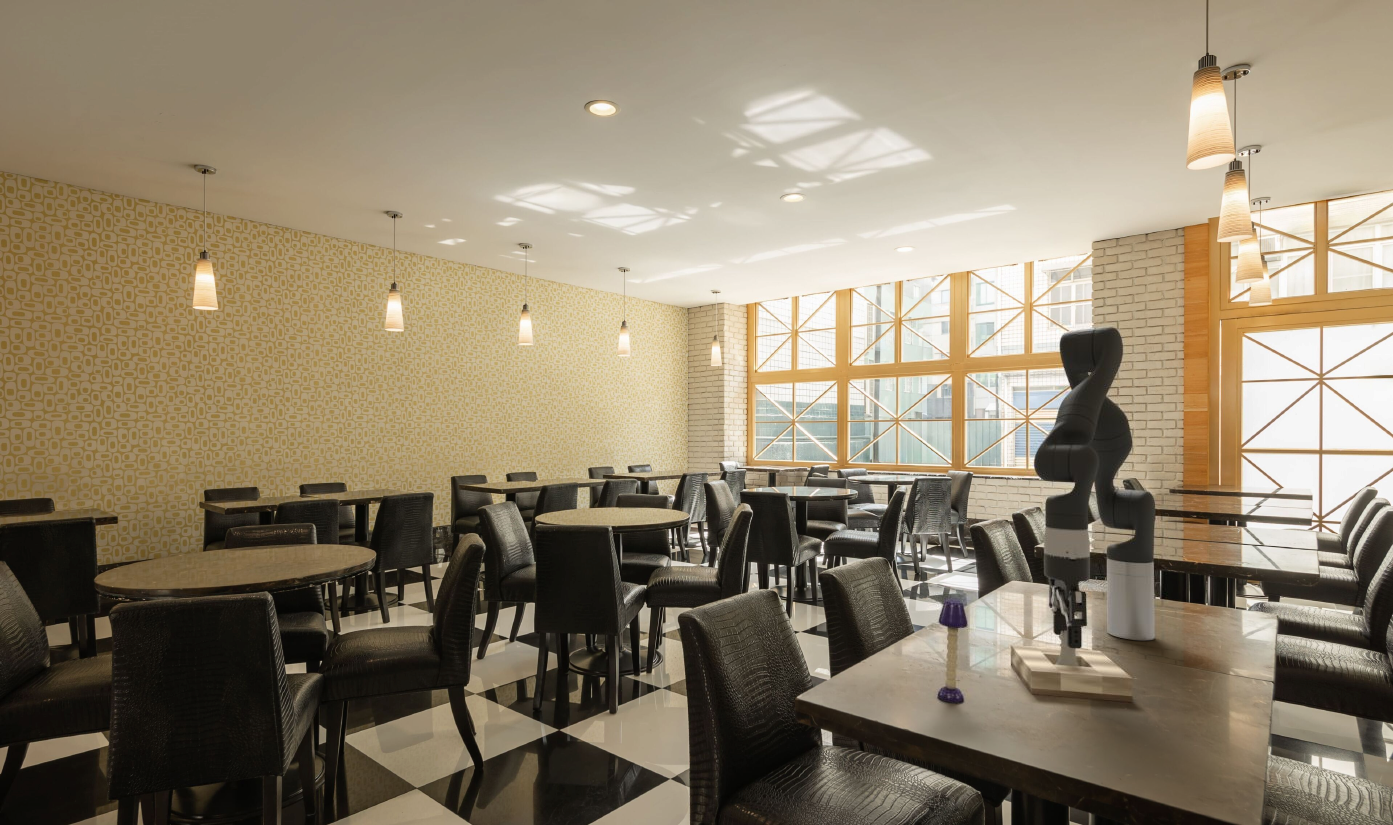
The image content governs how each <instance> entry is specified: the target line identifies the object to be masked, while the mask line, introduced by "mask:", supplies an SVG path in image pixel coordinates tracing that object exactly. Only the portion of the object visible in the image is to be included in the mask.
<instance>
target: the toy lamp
mask: <svg viewBox="0 0 1393 825" xmlns="http://www.w3.org/2000/svg"><path fill="white" fill-rule="evenodd" d="M966 615H967V614H966V610H965V606H964V603H963V602H962V601H960V600H958V599H951V598H948V599H945V600H944V602H943V605H942V608H941V610H940V613H939V617H938V623H939V624H940V625H942V626H944V627H947V633H948V634H947V635H946V636H947V637H946V638H947V645H946V649H947V652H946V659H947V660H946V663H945V668H946V670H945V677H946V678H945V686H942V687H941V688H940V689H939V691H938V692H937V698H938V699H939V700H942V701H943V702H947V703H952V704H953V703H954V704H957V703H958V704H959V703H962V702H964V701H965V698H964V695H963V694H964V693H963V692H962V691H961V690H960V689H959V688H957V687H956V686H957V681H956V679H957V668H958V663H957V661H958V653H957V652H958V644H957V643H958V641H959V637H958V633H959V629H965V628H967V626H968V619H967V616H966Z"/></svg>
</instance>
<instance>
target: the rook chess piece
mask: <svg viewBox="0 0 1393 825" xmlns="http://www.w3.org/2000/svg"><path fill="white" fill-rule="evenodd" d="M1058 638H1059V640H1060V642H1061V643H1060V644H1059V646H1060V648H1061V652H1060V657H1059V660H1058V662H1057V663H1056V664H1055V665H1066V666H1078V663H1077V660H1076V649H1077V648H1070V647H1068V645H1067V631H1064V633H1063V631H1061V634H1060V635H1058Z"/></svg>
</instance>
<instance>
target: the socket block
mask: <svg viewBox="0 0 1393 825" xmlns="http://www.w3.org/2000/svg"><path fill="white" fill-rule="evenodd" d="M1060 652H1061V647H1047V646H1036V645H1035V646H1034V645H1033V646H1031V645H1021V644H1020V645H1018V644H1017V645H1016V644H1010V666H1011V667H1012V669H1013V670H1014V673H1016V675H1017V676H1018V677H1019V679H1020V680H1021V682H1023V685H1024V686H1025V687H1026V688H1027V689H1028V692H1029V693H1030V694H1031V695H1039V696H1054V697H1066V698H1075V699H1076V698H1077V699H1078V698H1079V699H1090V700H1103V701H1113V702H1114V701H1115V702H1116V701H1117V702H1124V703H1126V702H1127V703H1129V702H1130V703H1133V702H1134V700H1133V698H1134V697H1133V692H1134V691H1133V687H1134V686H1133V685H1134V684H1133V677H1132V676H1131V675H1129V674H1128V673H1127V672H1125V671H1124V670H1123V669H1122V668H1121V667H1120V666H1119V665H1117V664H1116V662H1114V661H1112V660H1111V659H1110V658H1109V657H1107V656H1106V655H1105V654H1104V653H1103V652H1102V651H1100V650H1089V649H1077V648H1076V660H1077V663H1078V666H1066V665H1055V664H1056V663H1057V662H1058V660H1059V657H1060Z"/></svg>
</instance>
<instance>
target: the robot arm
mask: <svg viewBox="0 0 1393 825" xmlns="http://www.w3.org/2000/svg"><path fill="white" fill-rule="evenodd" d="M1123 344H1124V343H1123V339H1122V335H1121V333H1120V331H1119V330H1118V329H1117V328H1116V327H1114V326H1099V327H1090V328H1081V329H1075V330H1070V331H1066V332H1064V333H1062V335H1061V337H1060V339H1059V354H1060V360H1061V363H1062V367H1063V369H1064V372H1065V375H1066V378H1067V381H1068V384H1069V387H1070V390H1071V391H1069V392H1068V394H1067V395H1066V396H1065V397H1064V398H1063V399H1062V401H1061V403H1060V405H1059V407H1058V410H1057V411H1058V412H1057V414H1056V418H1055V422H1054V424H1053V427H1052V428H1051V430H1050V432H1049V433H1048V434H1047V436H1046V438H1044V440H1043V441H1042V442H1041V443H1040V445H1039V447H1038V448H1037V450H1036V452H1035V455H1034V460H1033V467H1034V471H1035V473H1036V475H1037V476H1038V478H1040V479H1041V480H1043V481H1045V482H1055V483H1072V484H1073V483H1074V485H1073V488H1072V489H1071V491H1070V492H1067V493H1062V494H1061V493H1060V494H1055V495H1050V496H1048V497H1047V498H1046V499H1045V504H1044V505H1045V506H1044V507H1045V510H1044V511H1045V514H1044V516H1045V520H1044V522H1045V523H1044V524H1045V528H1044V536H1043V574H1044V576H1045V577H1046V578H1048V581H1049V582H1048V583H1049V584H1048V585H1049V586H1048V593H1049V594H1048V607H1049V609H1051V614H1053V615H1052V616H1053V618H1052V619H1053V626H1052V627H1053V629H1052V630H1053V633H1054V634H1055V635H1057V636H1059V635H1060V634H1061V631H1063V633H1064V631H1067V645H1068V647H1070V648H1076V649H1079V650H1081V649H1082V646H1083V645H1082V644H1083V642H1082V641H1083V639H1082V638H1083V637H1082V636H1083V633H1082V632H1083V630H1082V628H1084V627H1087V626H1088V617H1087V593H1086V591H1082V590H1080V585H1079V584H1080V583H1081V582H1087V581H1089V580H1090V579H1091V567H1090V566H1091V564H1090V563H1091V557H1090V556H1091V547H1090V546H1091V543H1090V535H1089V502H1090V498H1091V495H1092V490H1093V487H1094V489H1095V498H1096V506H1097V510H1098V516H1099V519H1100V521H1101V523H1102V524H1103V525H1104V526H1105V527H1107V528H1109V529H1115V530H1125V531H1126V530H1128V531H1134V536H1133V537H1132V538H1130V539H1129V540H1125V541H1123V542H1117V543H1114V544H1110V545H1107V547H1106V613H1107V614H1106V620H1107V621H1106V626H1107V627H1106V628H1107V630H1106V632H1107V634H1109V635H1111V636H1114V637H1117V638H1122V639H1126V640H1133V641H1152V640H1155V575H1154V574H1155V573H1154V571H1155V570H1154V568H1155V566H1154V564H1155V562H1154V560H1155V559H1154V550H1155V521H1156V502H1155V499H1154V496H1153V494H1152V493H1151V492H1150V491H1147V490H1139V489H1122V488H1116V487H1115V485H1114V480H1115V477H1116V475H1117V473H1118V471H1119V470H1120V468H1121V467H1122V465H1123V464H1124V463H1125V461H1126V460H1127V458H1129V457H1128V456H1129V455H1130V453H1131V451H1132V448H1133V442H1134V441H1133V438H1132V432H1131V427H1130V423H1129V419H1128V416H1127V415H1126V414H1125V412H1124V411H1123V410H1122V409H1121V408H1120V407H1119V406H1118V405H1117V404H1116V403H1115V402H1114V401H1113V400H1111V399H1110V398H1109V397H1108V396H1107V394H1108V392H1109V390H1110V389H1111V387H1112V386H1113V383H1114V380H1115V377H1116V376H1117V374H1118V372H1119V369H1120V367H1121V363H1122V360H1123V356H1124V345H1123ZM1093 485H1094V486H1093ZM1075 616H1076V618H1075Z"/></svg>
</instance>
